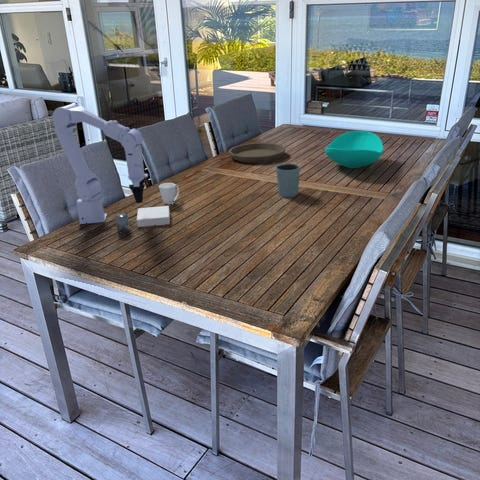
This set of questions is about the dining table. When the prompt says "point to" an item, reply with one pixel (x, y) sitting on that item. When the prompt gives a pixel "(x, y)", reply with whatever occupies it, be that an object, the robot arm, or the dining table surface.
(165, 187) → the cup
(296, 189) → the drinking glass
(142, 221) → the base block
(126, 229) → the grey cylinder
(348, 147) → the table top decor
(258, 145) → the plant saucer
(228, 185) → the dining table surface
